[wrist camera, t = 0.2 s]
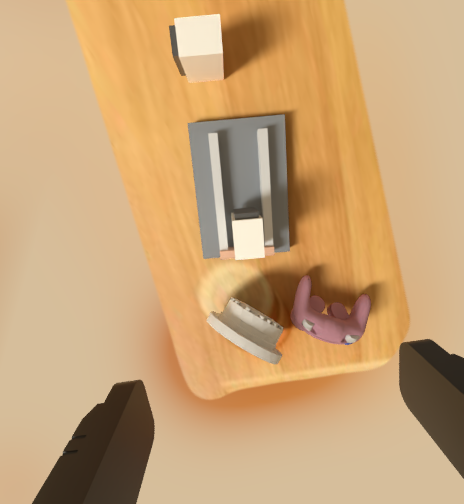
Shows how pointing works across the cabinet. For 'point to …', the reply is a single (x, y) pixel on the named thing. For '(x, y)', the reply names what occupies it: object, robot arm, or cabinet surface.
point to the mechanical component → (248, 329)
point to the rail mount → (241, 186)
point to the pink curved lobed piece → (329, 316)
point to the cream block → (198, 47)
